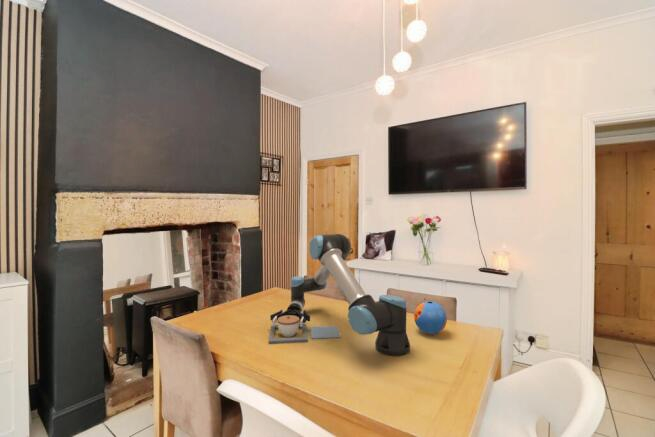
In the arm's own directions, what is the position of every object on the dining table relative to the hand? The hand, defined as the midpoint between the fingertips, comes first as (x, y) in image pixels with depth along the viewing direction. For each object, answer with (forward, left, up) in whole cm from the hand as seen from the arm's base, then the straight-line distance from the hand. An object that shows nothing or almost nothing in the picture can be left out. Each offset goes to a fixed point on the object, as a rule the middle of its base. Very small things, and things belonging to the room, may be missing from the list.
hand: (287, 323), depth 153 cm
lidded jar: (+3, -1, -7) cm, 7 cm away
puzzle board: (+3, -1, -6) cm, 7 cm away
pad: (+3, -19, -6) cm, 20 cm away
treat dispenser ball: (-3, -71, -7) cm, 71 cm away
